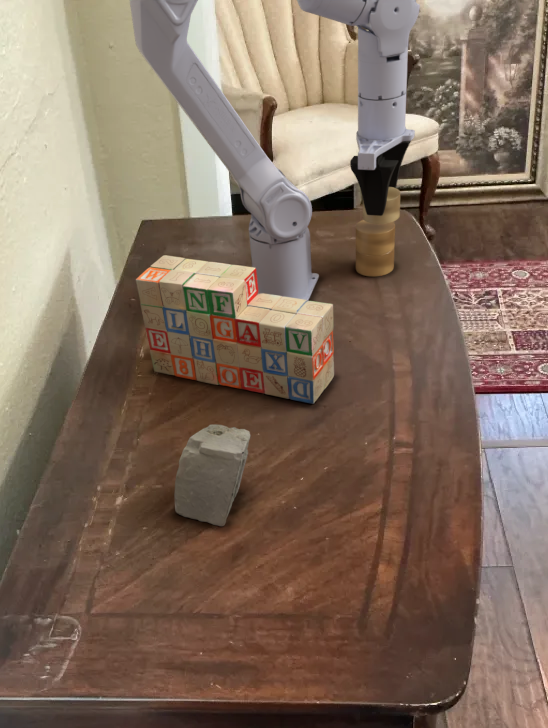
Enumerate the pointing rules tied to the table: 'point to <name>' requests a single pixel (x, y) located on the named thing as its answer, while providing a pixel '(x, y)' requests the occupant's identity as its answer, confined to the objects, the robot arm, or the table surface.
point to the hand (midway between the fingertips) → (380, 206)
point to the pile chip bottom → (374, 264)
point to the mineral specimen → (211, 473)
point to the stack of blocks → (234, 330)
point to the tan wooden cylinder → (386, 209)
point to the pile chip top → (375, 238)
